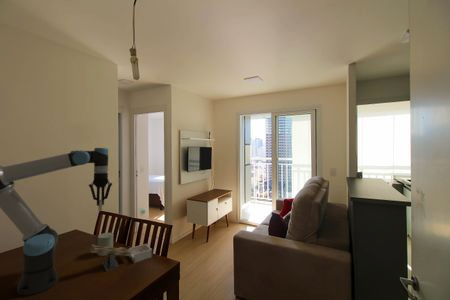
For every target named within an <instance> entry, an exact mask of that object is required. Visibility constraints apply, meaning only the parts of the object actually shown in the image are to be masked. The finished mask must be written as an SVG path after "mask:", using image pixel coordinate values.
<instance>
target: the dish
mask: <svg viewBox="0 0 450 300" xmlns="http://www.w3.org/2000/svg"><path fill="white" fill-rule="evenodd" d="M128 249H129V252H132V253H131V255H130V256H128V257H129V259H131V261H132V262H133V263H134V264H136V263H138V262H142V261H145V260H148V259H152V258H153V249H152V248H151V247H150V246H149V245H148V244H147V243H144V244H140V245H136V246H132V247H129V248H128ZM141 250H145V251H143V252H141Z"/></svg>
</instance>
